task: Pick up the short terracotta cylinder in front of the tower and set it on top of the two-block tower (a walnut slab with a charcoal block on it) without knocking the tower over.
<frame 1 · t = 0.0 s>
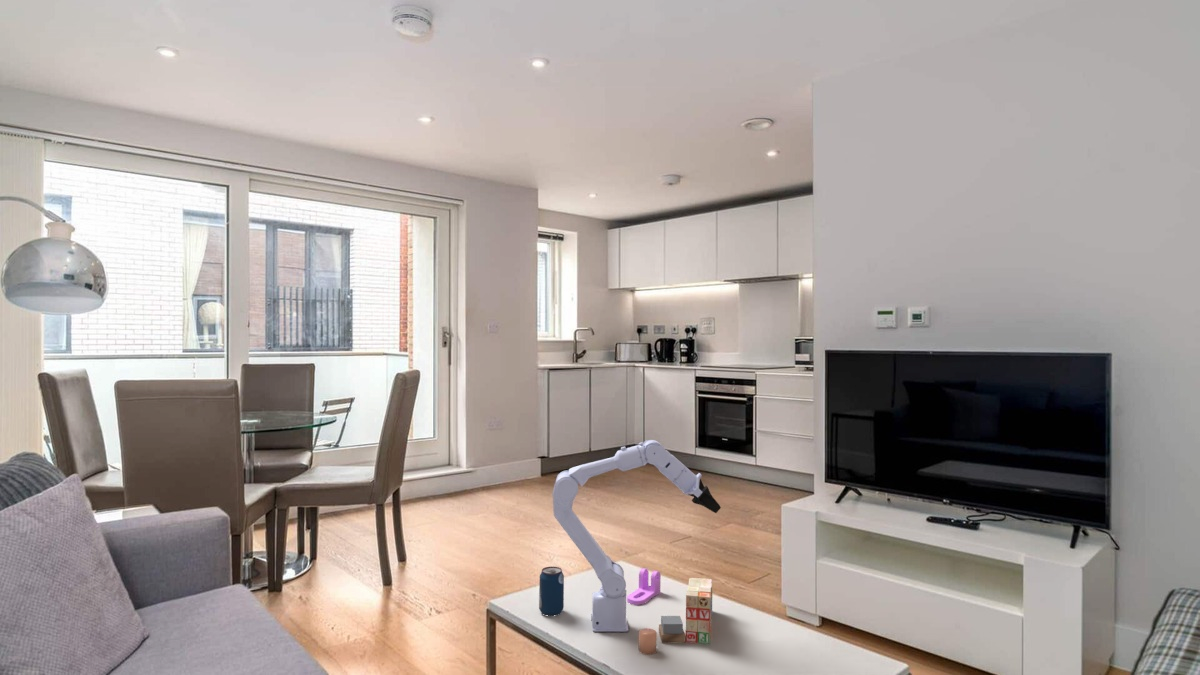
hand: (715, 506, 175), 32 cm above the table, tool tilted 50°, fingers open, 7 cm apart
bracket: (642, 598, 194), on the table
soda can: (551, 613, 182), on the table
tower top: (671, 629, 167), point 2 cm above the table, touching tower base
tower base: (671, 639, 167), on the table, touching tower top
terracotta cylinder: (647, 650, 160), on the table
stack of blocks: (699, 626, 175), on the table
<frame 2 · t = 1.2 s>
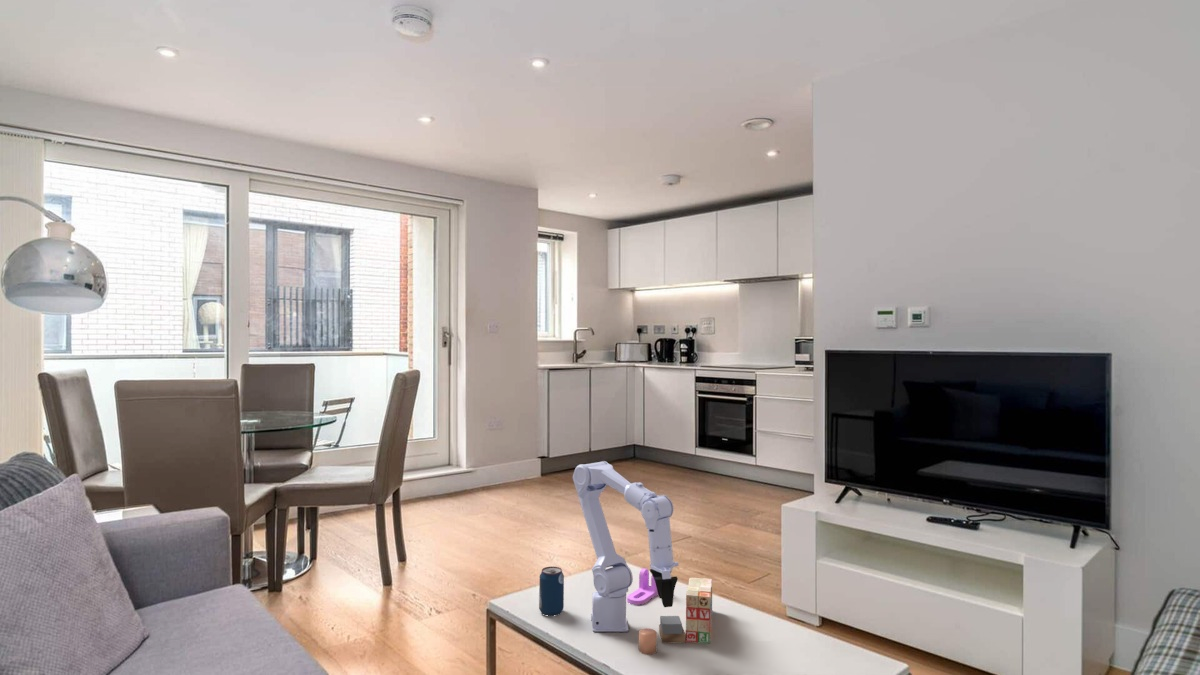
hand: (665, 602, 160), 12 cm above the table, tool pointing down, fingers open, 7 cm apart
nothing on the table moved.
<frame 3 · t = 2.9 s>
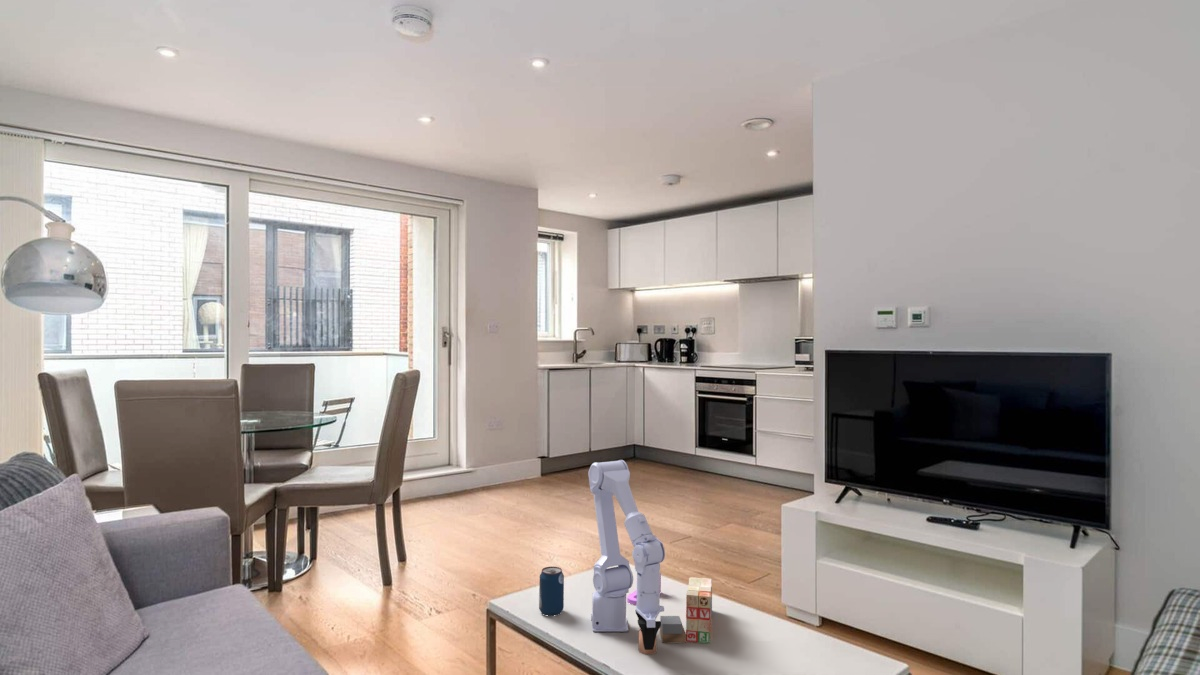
hand: (647, 644, 160), 1 cm above the table, tool pointing down, fingers closed on terracotta cylinder, 4 cm apart
terracotta cylinder: (647, 650, 160), on the table, touching gripper
everything else where it was.
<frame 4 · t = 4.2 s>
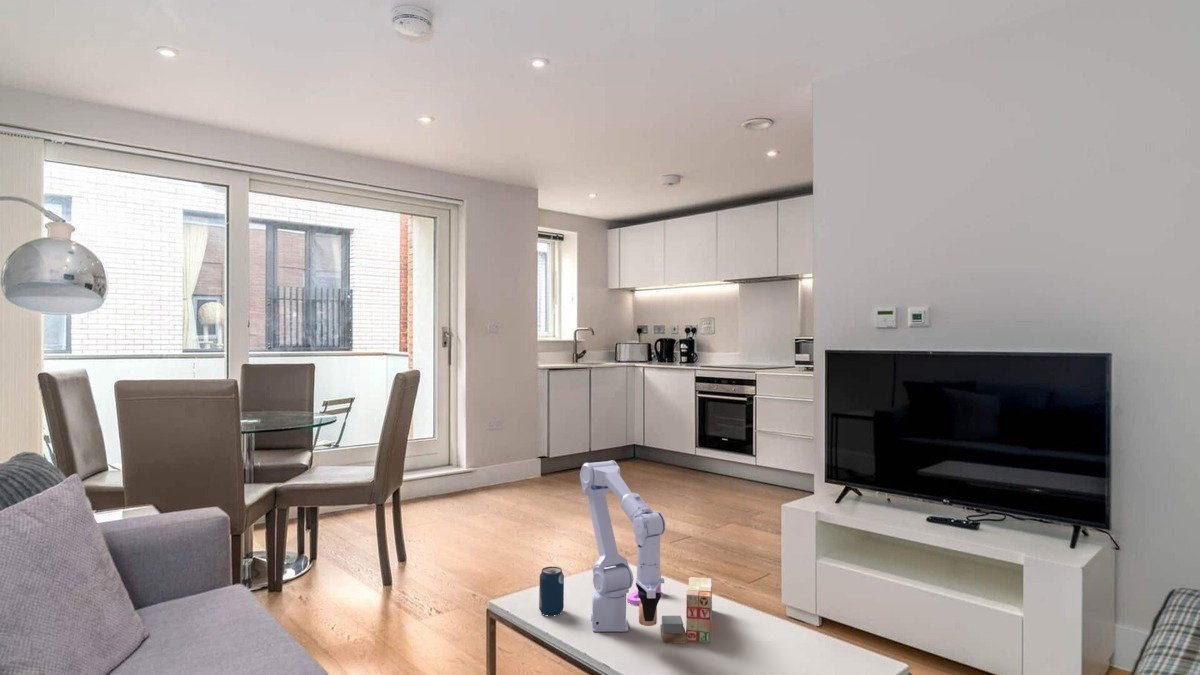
hand: (647, 616, 160), 8 cm above the table, tool pointing down, fingers closed on terracotta cylinder, 4 cm apart
terracotta cylinder: (647, 622, 160), point 7 cm above the table, touching gripper
everything else where it was.
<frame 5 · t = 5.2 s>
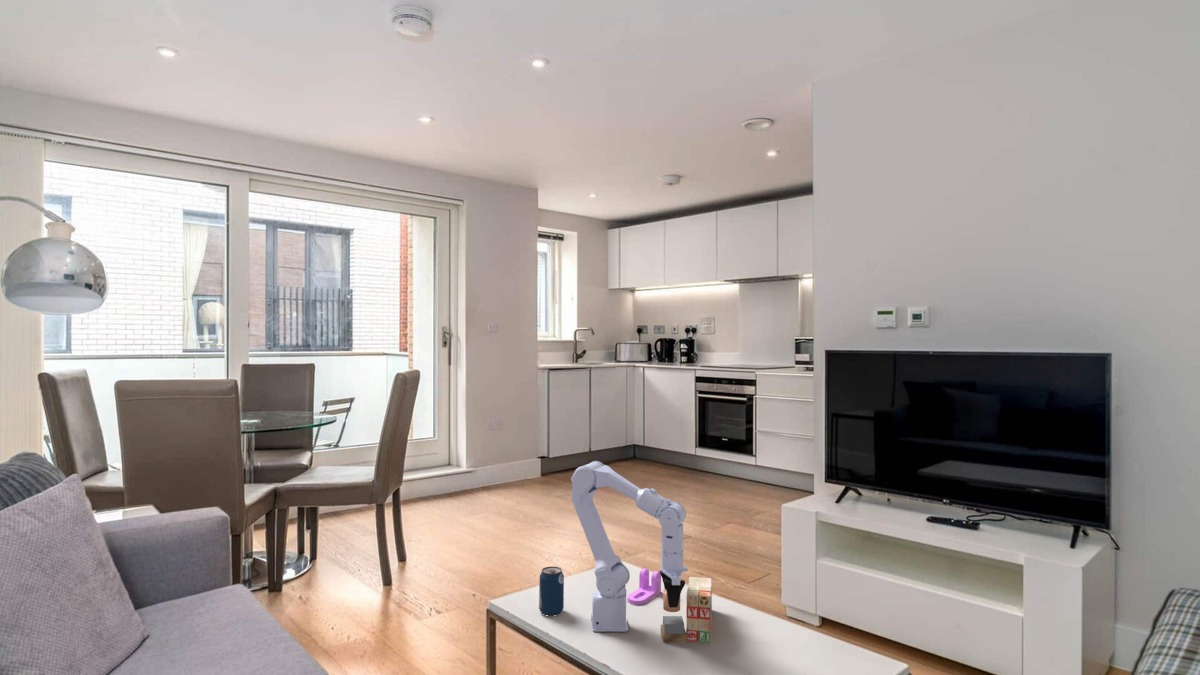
hand: (671, 603, 167), 9 cm above the table, tool pointing down, fingers closed on terracotta cylinder, 4 cm apart
terracotta cylinder: (671, 608, 167), point 7 cm above the table, touching gripper
everything else where it was.
when the fingers open (7 cm above the table, at t = 5.9 s): terracotta cylinder stays where it is, point 6 cm above the table.
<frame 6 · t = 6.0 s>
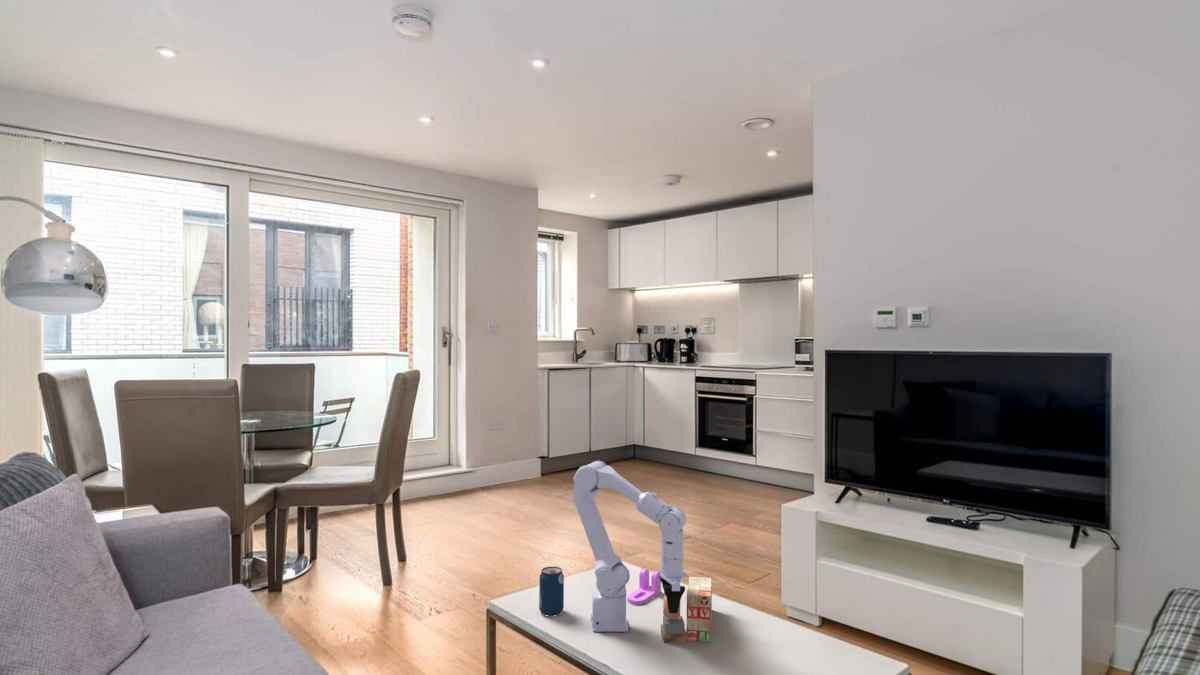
hand: (671, 608, 167), 7 cm above the table, tool pointing down, fingers open, 4 cm apart
tower top: (673, 629, 167), point 2 cm above the table
tower base: (673, 639, 167), on the table
terracotta cylinder: (671, 614, 167), point 6 cm above the table
everything else where it was.
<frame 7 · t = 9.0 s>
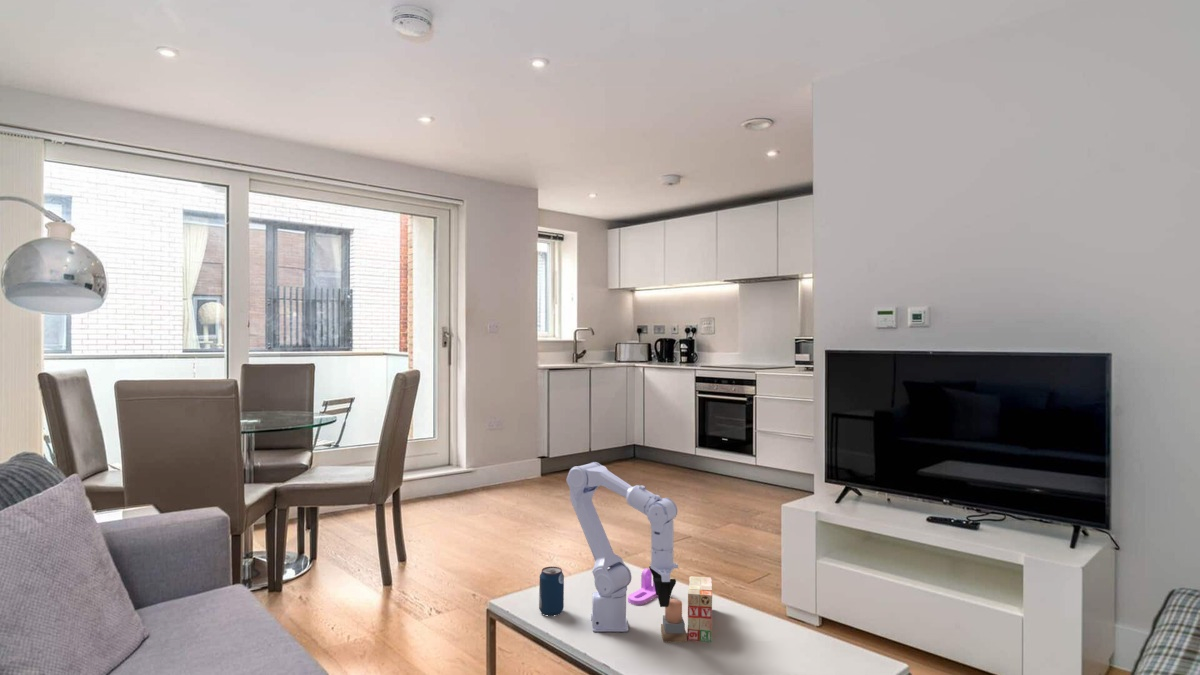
hand: (662, 600, 165), 10 cm above the table, tool pointing down, fingers open, 7 cm apart
tower top: (673, 629, 168), point 2 cm above the table, touching terracotta cylinder, tower base
tower base: (673, 638, 168), on the table, touching tower top
terracotta cylinder: (673, 619, 168), point 5 cm above the table, touching tower top
at the end: terracotta cylinder 0.4 cm off-centre on the tower base, point 5.2 cm above the tower base's base; tower top 0.1 cm off-centre on the tower base, point 2.5 cm above the tower base's base; the gripper is holding nothing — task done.
